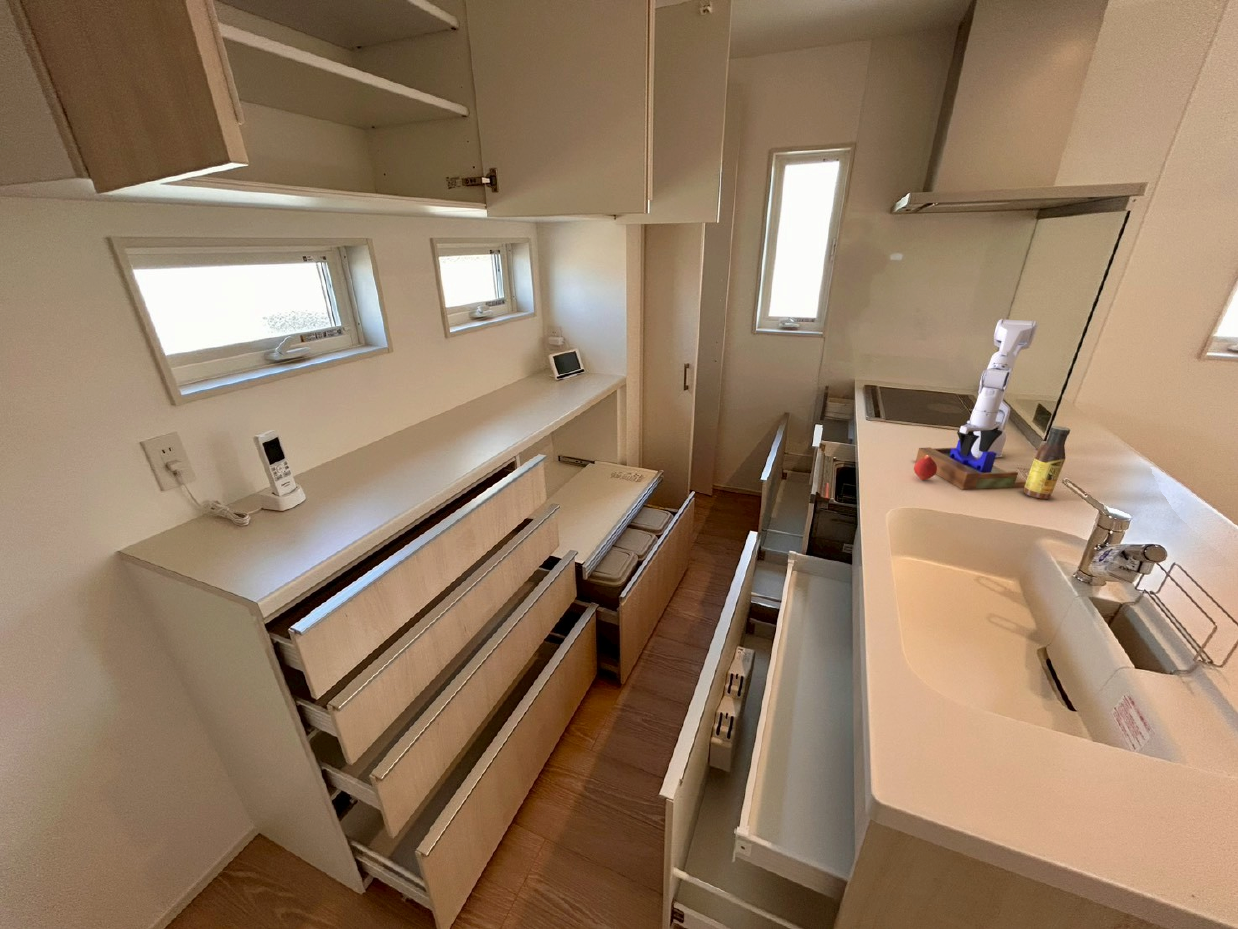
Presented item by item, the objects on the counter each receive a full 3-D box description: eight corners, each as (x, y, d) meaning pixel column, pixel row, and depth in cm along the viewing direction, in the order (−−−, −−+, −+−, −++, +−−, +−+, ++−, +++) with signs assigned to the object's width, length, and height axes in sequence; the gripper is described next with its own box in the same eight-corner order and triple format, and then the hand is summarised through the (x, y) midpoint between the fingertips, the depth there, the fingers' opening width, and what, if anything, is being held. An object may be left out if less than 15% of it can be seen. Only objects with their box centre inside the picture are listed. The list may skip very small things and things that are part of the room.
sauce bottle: (1043, 502, 136) (1068, 433, 128) (1017, 493, 141) (1040, 426, 133) (1055, 497, 138) (1080, 429, 131) (1029, 488, 144) (1052, 423, 136)
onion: (931, 477, 151) (937, 453, 148) (935, 485, 146) (942, 459, 143) (909, 475, 153) (915, 450, 150) (913, 482, 148) (919, 457, 145)
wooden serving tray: (972, 459, 164) (976, 445, 162) (1026, 486, 145) (1031, 470, 143) (915, 462, 162) (918, 447, 160) (962, 489, 143) (967, 473, 141)
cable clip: (949, 457, 158) (954, 439, 156) (962, 457, 158) (967, 439, 156) (976, 472, 147) (982, 453, 145) (990, 472, 147) (996, 453, 145)
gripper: (990, 404, 151) (978, 446, 157) (955, 408, 147) (943, 451, 152) (1014, 410, 145) (1000, 453, 150) (978, 415, 141) (965, 459, 146)
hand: (973, 453), depth 151 cm, fingers open, 7 cm apart
